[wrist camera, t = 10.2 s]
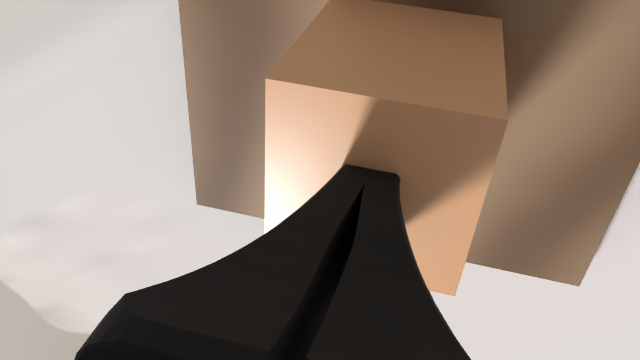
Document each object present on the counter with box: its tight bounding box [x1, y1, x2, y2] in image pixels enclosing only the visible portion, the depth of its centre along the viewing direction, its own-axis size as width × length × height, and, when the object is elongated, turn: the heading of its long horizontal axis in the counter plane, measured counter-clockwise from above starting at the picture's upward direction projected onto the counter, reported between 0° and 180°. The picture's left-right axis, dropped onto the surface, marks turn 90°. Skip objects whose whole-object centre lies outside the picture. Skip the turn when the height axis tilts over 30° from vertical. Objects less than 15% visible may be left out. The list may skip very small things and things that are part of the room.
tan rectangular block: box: [265, 0, 509, 296], centre depth 16 cm, size 5×5×7 cm
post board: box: [178, 0, 640, 286], centre depth 17 cm, size 16×14×6 cm
